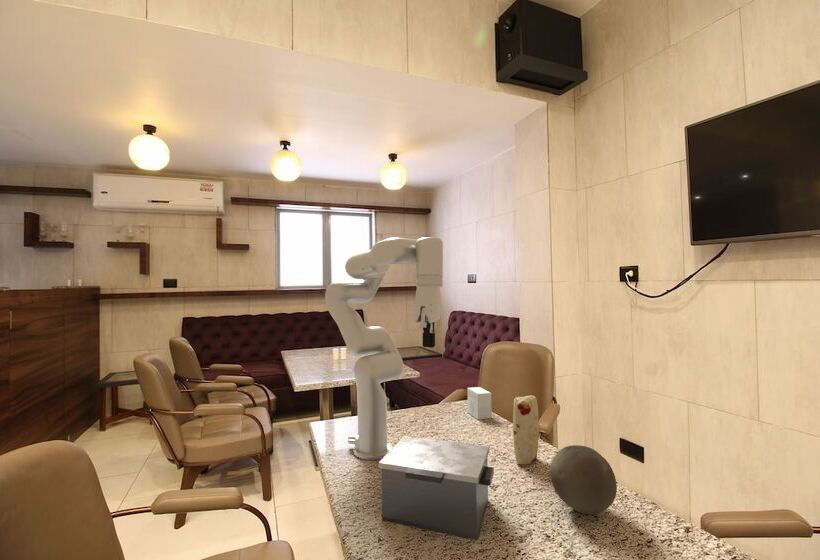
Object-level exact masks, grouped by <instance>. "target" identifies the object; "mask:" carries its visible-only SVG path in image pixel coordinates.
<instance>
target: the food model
mask: <svg viewBox="0 0 820 560" xmlns="http://www.w3.org/2000/svg"><path fill="white" fill-rule="evenodd" d="M512 413H513V417H512V438H513V449H514V456H515V458H514V459H515V461H516V463H517V464H518V465H529V464H532V463H534V462H536V461H537V458H538V449H539V439H540V438H539V437H540V423H539V422H540V421H539V419H540V418H539V407H538V400H537V397H536V396H535V395H531V394H530V395H525V396H515V397H514V398H513V411H512Z"/></svg>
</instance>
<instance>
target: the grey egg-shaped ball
mask: <svg viewBox="0 0 820 560" xmlns="http://www.w3.org/2000/svg"><path fill="white" fill-rule="evenodd" d="M549 471H550V472H549V475H550V481H551V484H552V486H553V490H554V491H555V493H556V495H557V496H558V497H559V498H560V499H561V501H562V502H563V503H564V504H565V505H567V506H568V507H569V508H571V509H573V510H574V511H575V512H577V513H581V514H589V515H595V514H596V515H597V514H599V513H603V512H604V511H606V510H607V509H609V508H610V507H611V506H612V505H613V503H614V502H615V499H616V497H617V492H618V491H617V488H618V487H617V486H618V485H617V480H616V476H615V475H616V474H615V473H614V470H613V468H612V466H611V465H610V463H609V462H608V461H607V459H606V458H605V457H603V456H602V454H600V452H598V451H596V449H593V448H591V447H588V446H585V445H579V444H578V445H575V444H574V445H568V446H564V447H563V448H561V449H560V450H559V451H558V452H557V453H556V454H555V455H554V457H553V458H552V460H551V463H550V468H549Z"/></svg>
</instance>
